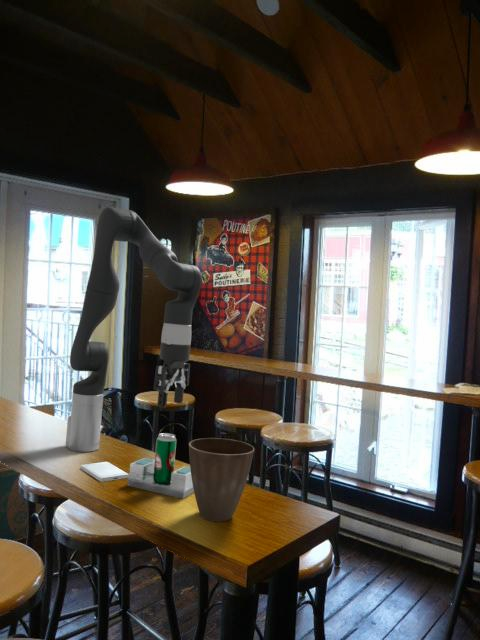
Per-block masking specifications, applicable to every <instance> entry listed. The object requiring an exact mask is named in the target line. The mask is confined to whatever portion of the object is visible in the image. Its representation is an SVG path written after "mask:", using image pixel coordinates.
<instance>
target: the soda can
mask: <svg viewBox="0 0 480 640" xmlns="http://www.w3.org/2000/svg"><path fill="white" fill-rule="evenodd" d="M176 448H177V438H176V434H174V433H168V432H165V433H164V432H163V433H159V434H158V437H157V438H156V442H155V453H154V454H155V455H154V460H155V464H154V475H153V480H154V481H155V482H156V483H158V484H169V483H171V474H172V472H174V471H175V462H176V461H175V459H176V452H177V451H176V450H177V449H176Z"/></svg>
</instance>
